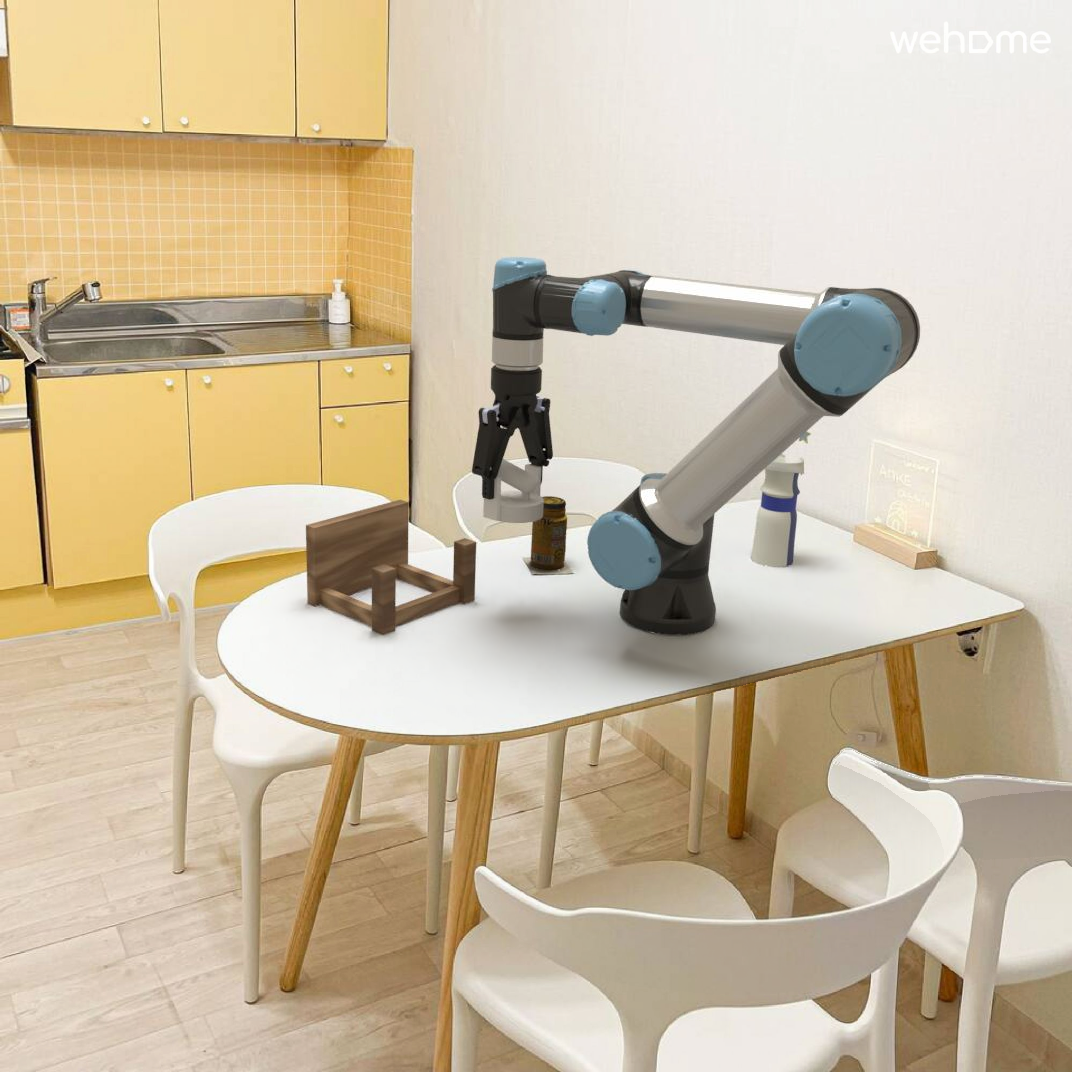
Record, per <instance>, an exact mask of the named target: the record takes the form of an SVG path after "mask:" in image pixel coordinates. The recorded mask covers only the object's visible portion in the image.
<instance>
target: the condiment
mask: <svg viewBox="0 0 1072 1072" xmlns="http://www.w3.org/2000/svg"><path fill="white" fill-rule="evenodd" d="M541 497H542V498H543V499H544V503H543V517H542V518H541V519H539V520H537V521H534V522H532V526H531V527H532V528H531V543H530V544H531V547H530V557H529V556H526V557H522V559H523V561H524V563H525V564H526V566H527V567H528V568H529V571H530V572H531V574H532V575H567V574H574V572H573V570H572V568H571V567H570V566H569V565H568V562H566V560H565V559H566V551H567V550H566V549H567V546H566V544H567V529H568V527H567V526H568V525H567V524H568V516H567V514H566V509H567V508H566V506H567V503H566V500H565V499H564V498H561V497H559V496H553V495H552V496H551V495H549V496H548V495H547V496H545V495H543V496H541Z"/></svg>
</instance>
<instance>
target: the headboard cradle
mask: <svg viewBox="0 0 1072 1072" xmlns="http://www.w3.org/2000/svg"><path fill="white" fill-rule="evenodd" d="M409 508H410V507H409V501H406V500H403V499H398V500H394V501H389V502H386V503H382V504H379V505H375V506H372V507H367V508H363V509H361V510H356V511H352V512H349V513H346V514H345V513H344V514H342V515H339V516H334V517H330V518H327V519H323V520H319V521H317V522H312V523H308V524H306V525H305V543H306V545H305V546H306V547H305V549H306V550H305V551H306V583H307V584H306V586H307V587H306V589H307V590H306V596H307V597H306V598H307V604H309V605H311V606H314V607H318V606H323V607H325V608H327V609H329V610H332V611H334V612H337V613H339V614H341V615H343V616H347V617H349V618H351V619H354V620H356V621H358V622H360V623H362V624H364V625H368V626H370V627H371V631H373V632H375V633H377V634H379V635H382V636H384V635H387V634H390V633H392V632H395V631H396V628H397V627H398V626H401V625H402V626H403V625H404V624H407V623H410V622H412V621H414V620H417V619H420V618H422V617H425V616H427V615H430V614H433V613H436V612H439V611H441V610H443V609H446V608H449V607H452V606H455V605H456V604H462V605H465V604H468V603H471V602H473V601H475V599H476V568H477V567H476V565H477V564H476V563H477V561H476V559H477V541H476V540H472V539H469V538H465V537H463V538H461V539H459V540H455V541H453V571H452V572H453V573H452V575H453V576H452V577H453V579H449V578H446V577H444V576H441V575H438V574H435V573H432V572H430V571H427V570H424V569H422V568H419V567H416V566H413V565H411V564H409ZM396 580H400V581H402V582H405V583H407V584H410V585H413V586H415V587H417V588H421V589H423V590H425V591H429V592H431V593H429V594H426V595H424V596H420V597H417V598H415V599H413V600H409V601H406V602H404V603H402V604H398V605H396V599H397V598H396V597H397V595H396V594H397V592H396V589H397V588H396V587H397V585H396ZM370 588H371V604H369V603H366V602H364V601H361V600H359V599H356V598H354V597H352V595H354V594H357V593H360V592H362V591H365V590H368V589H370ZM350 595H351V596H350Z"/></svg>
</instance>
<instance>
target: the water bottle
mask: <svg viewBox="0 0 1072 1072" xmlns="http://www.w3.org/2000/svg"><path fill="white" fill-rule="evenodd" d="M811 435H812V433H811V432H809V431H808V430H807V431H806V432H805V433H804V434H803V435H802V436H801V437H800V438H799V439H798V442H801V441H803V442H804V443H806V444H809V443H808V437H809V436H811ZM803 474H805V459H804V458H803V457H802V456H801V457H799V459H798V460H797V462H787V461H786V455H785V454H784V453H782V454H781V455H780V456H778V457H777V458H776V459H775V460H774V461H773V462H772V463H771V464H769V465H768V466H767V467H766V468H765V469H764V475H765V478H764V481H763V483H762V485H761V486H760V489H759V490H760V491H761V500H760V506H759V508H758V510H757V513H756V522H755V529H754V536H753V541H752V542H753V543H752V546H751V547H752V548H751V555H750V560H751V561H752V560H753V561H752V562H754V561H755V562H754V563H756V564H758V565H761V564H763V565H762V566H765V565H767V566H766V567H770V566H771V567H772V568H773V567H774V568H782V567H783V568H786V567H789V565H790V566H792V565H793V564H794V553H795V540H796V533H797V531H796V530H797V524H798V523H797V520H798V513H797V502H798V496H799V495H800V494H801V490H800V489H799V486H798V484H799V483H798V480H799V475H800V476H802V475H803ZM771 567H770V568H771Z"/></svg>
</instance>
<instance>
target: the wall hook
mask: <svg viewBox="0 0 1072 1072" xmlns="http://www.w3.org/2000/svg"><path fill="white" fill-rule="evenodd" d="M490 470H491V467H490ZM497 477H499V478H501V482H503V483H505V484H507V485H509V486H510V487H512V488H514V489H515V490H503V491H502V490H501V501H500V520H498V521H497V522H502V523H506V524H507V523H508V524H525V523H533V522H534V521H537V520H539V519H541V518H542V517H543V503H544V499H543V498H542V497H543V496H541V494H540V495H537V494H535V493H532V492H534V491H535V489H536V487H537V485H538V482H537V480H536V478H535V477H534V476H533V475H532V474H530V473H528V472H526V471H525V469H523V468H521V467H519V466H517V465H515V464H514V463H512V462H510V461H508V460H506V459H504V458H503V460H502V463H501V466H500V469H499V472H498V475H497Z"/></svg>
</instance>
